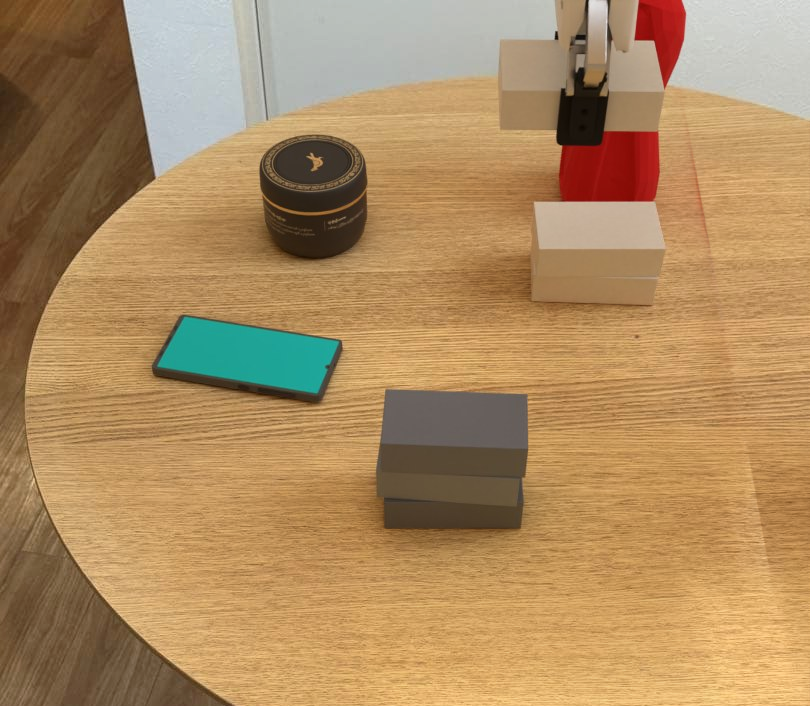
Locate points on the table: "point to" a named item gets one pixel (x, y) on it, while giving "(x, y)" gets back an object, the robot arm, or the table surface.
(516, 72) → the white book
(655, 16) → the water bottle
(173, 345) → the smartphone
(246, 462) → the table surface
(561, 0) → the robot arm
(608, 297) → the white pile
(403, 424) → the grey pile
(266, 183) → the jar
